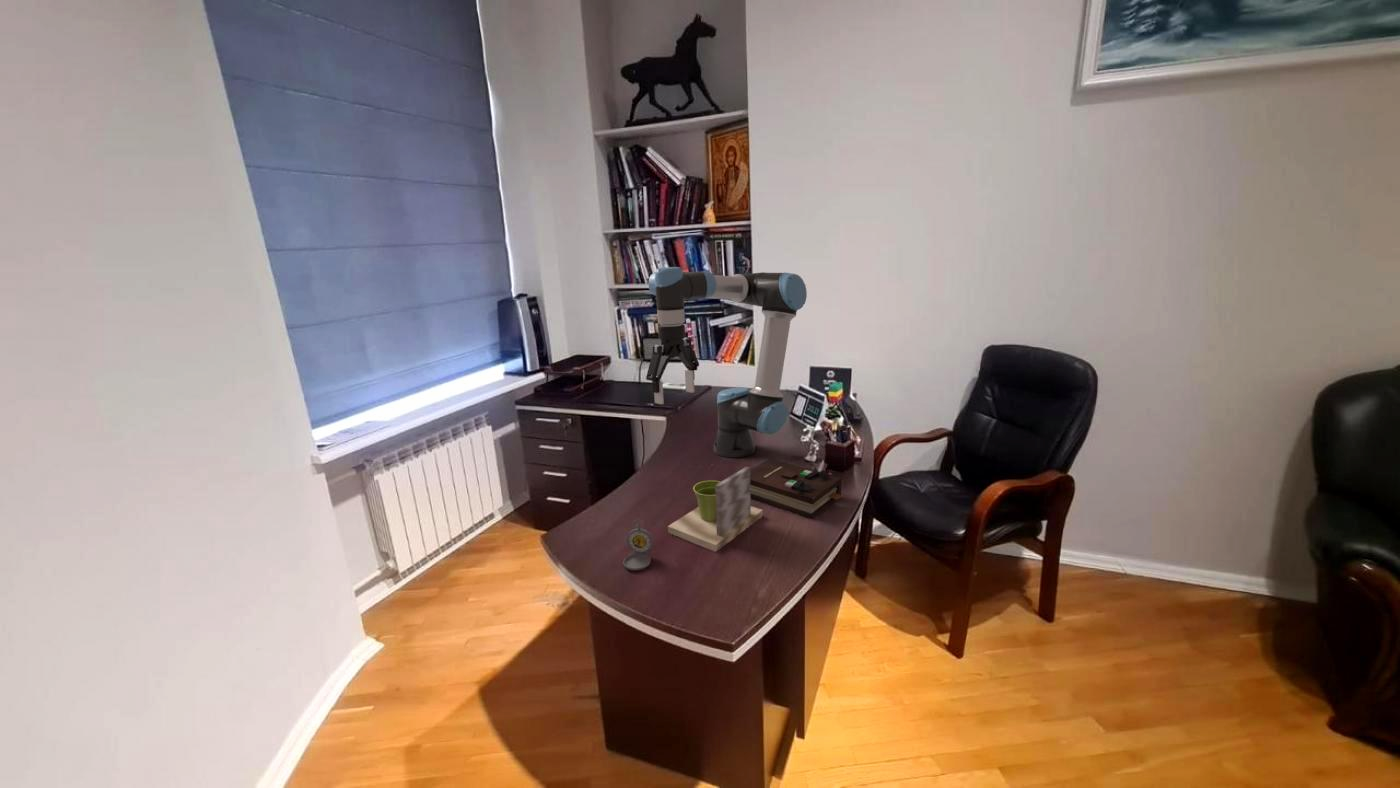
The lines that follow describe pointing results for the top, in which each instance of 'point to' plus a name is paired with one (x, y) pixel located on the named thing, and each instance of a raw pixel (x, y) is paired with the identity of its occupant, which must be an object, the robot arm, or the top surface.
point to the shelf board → (721, 515)
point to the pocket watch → (638, 548)
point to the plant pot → (706, 499)
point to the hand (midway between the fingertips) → (675, 397)
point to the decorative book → (794, 487)
